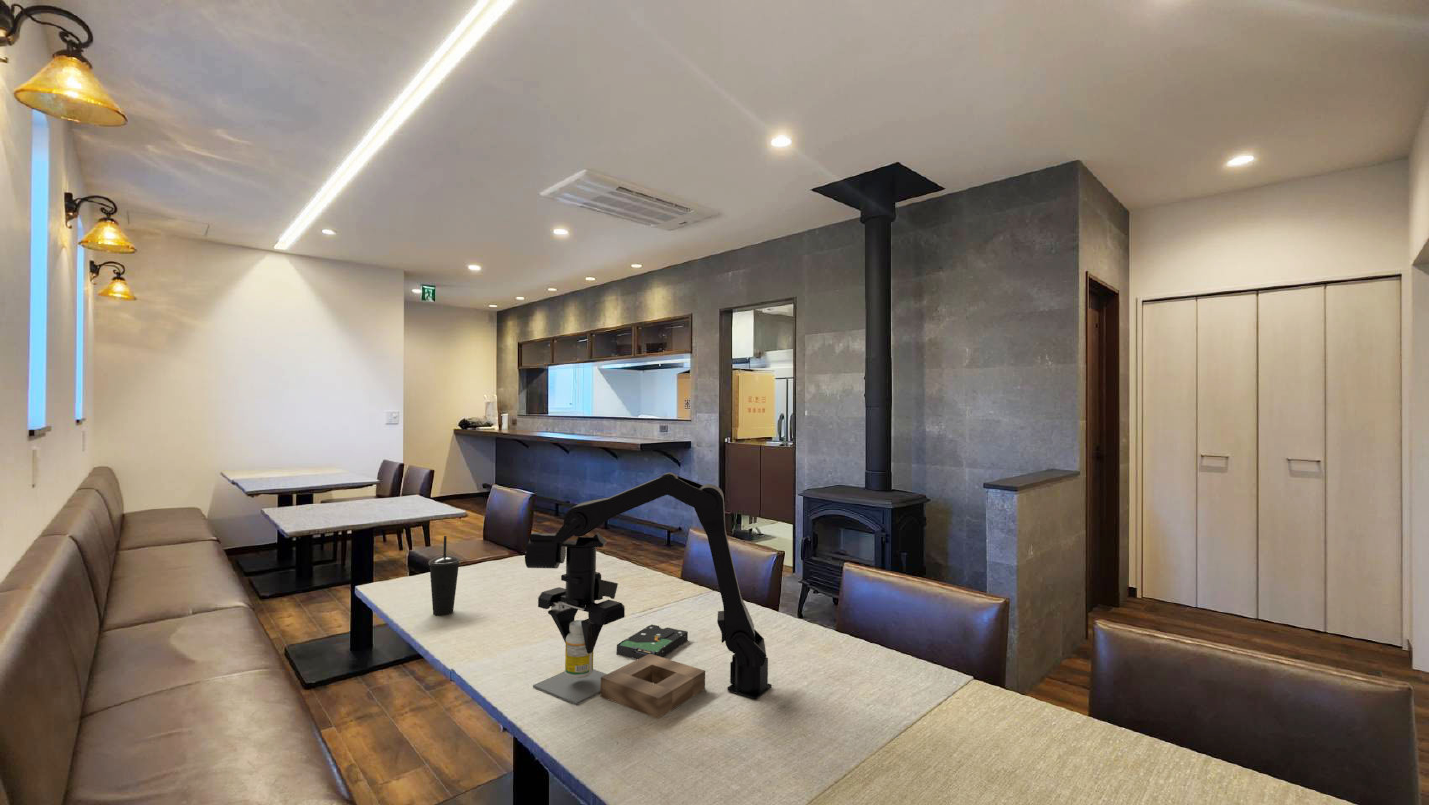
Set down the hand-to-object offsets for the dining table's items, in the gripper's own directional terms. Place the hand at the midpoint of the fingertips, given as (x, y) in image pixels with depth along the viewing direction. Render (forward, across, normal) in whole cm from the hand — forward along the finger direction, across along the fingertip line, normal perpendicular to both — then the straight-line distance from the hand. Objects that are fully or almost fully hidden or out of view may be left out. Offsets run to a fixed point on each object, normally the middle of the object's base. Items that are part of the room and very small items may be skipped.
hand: (579, 649), depth 115 cm
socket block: (+7, -14, -6) cm, 16 cm away
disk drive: (+8, +1, -23) cm, 24 cm away
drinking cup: (+7, +60, -8) cm, 61 cm away
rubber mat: (+7, 0, 0) cm, 7 cm away
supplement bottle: (+5, 0, 0) cm, 5 cm away
